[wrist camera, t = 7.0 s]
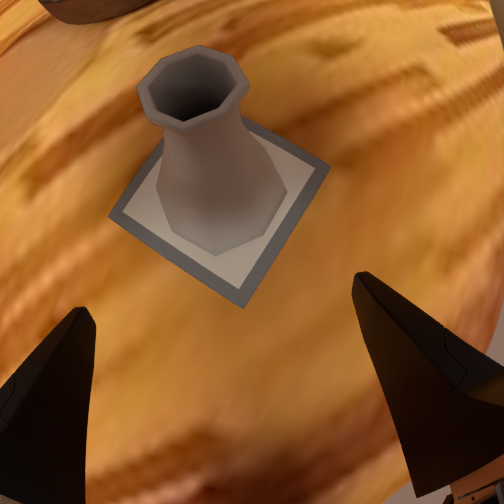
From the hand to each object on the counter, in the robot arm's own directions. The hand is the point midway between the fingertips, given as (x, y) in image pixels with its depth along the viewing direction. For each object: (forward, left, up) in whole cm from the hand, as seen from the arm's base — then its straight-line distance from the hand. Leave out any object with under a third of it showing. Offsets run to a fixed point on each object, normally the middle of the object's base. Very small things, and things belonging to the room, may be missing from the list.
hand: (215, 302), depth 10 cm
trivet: (+4, -5, -10) cm, 12 cm away
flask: (+4, -5, -8) cm, 10 cm away
